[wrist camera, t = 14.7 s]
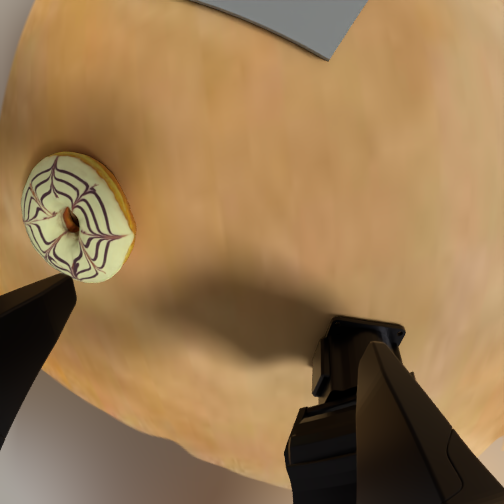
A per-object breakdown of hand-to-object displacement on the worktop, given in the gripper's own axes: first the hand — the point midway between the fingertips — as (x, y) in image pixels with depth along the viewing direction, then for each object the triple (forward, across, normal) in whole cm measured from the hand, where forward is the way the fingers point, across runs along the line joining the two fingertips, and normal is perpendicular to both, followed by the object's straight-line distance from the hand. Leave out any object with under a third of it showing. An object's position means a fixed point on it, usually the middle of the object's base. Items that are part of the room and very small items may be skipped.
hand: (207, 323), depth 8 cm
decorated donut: (+14, +14, +4) cm, 20 cm away
